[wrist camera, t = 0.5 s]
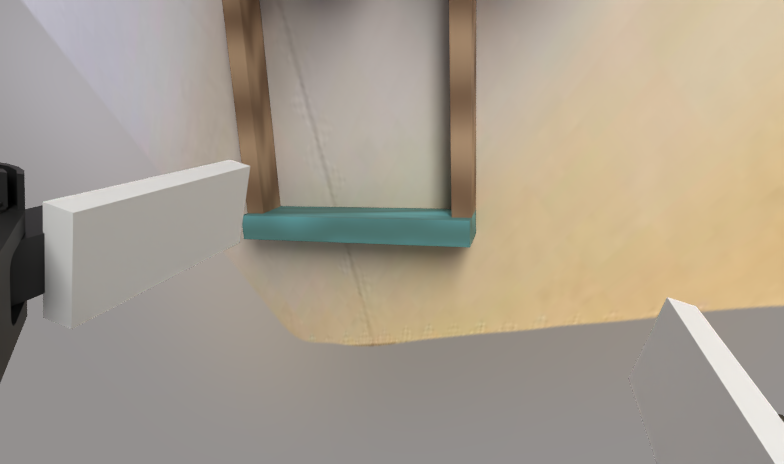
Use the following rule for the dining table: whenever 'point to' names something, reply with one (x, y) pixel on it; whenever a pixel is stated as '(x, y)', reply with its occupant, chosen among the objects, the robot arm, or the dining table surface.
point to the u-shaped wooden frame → (350, 221)
